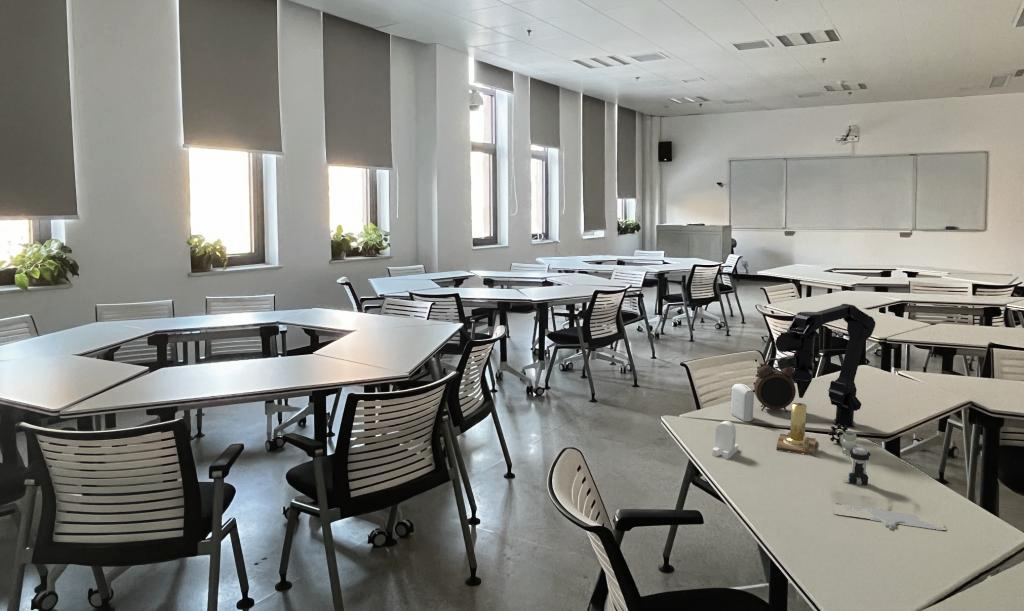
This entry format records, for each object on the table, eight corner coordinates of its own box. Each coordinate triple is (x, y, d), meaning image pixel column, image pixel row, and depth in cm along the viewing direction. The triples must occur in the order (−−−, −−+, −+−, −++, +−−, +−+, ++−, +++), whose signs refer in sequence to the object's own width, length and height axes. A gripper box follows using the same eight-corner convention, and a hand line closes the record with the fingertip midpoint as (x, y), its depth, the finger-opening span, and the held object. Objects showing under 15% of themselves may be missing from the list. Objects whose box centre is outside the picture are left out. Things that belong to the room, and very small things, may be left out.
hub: (812, 445, 226) (814, 408, 224) (789, 445, 226) (792, 408, 224) (800, 436, 235) (803, 399, 233) (779, 436, 235) (781, 399, 233)
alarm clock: (755, 412, 265) (758, 360, 262) (752, 406, 272) (755, 355, 269) (796, 414, 262) (799, 361, 259) (792, 408, 269) (795, 357, 266)
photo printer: (728, 413, 263) (730, 381, 261) (739, 413, 264) (741, 380, 262) (743, 422, 253) (745, 388, 251) (754, 421, 254) (756, 388, 252)
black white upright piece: (844, 485, 198) (847, 451, 197) (840, 478, 204) (842, 444, 202) (870, 487, 197) (873, 453, 195) (865, 480, 202) (868, 446, 200)
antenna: (834, 523, 176) (835, 518, 176) (829, 489, 198) (829, 485, 198) (950, 540, 168) (950, 535, 167) (931, 502, 189) (931, 498, 189)
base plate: (780, 436, 238) (780, 422, 238) (815, 441, 234) (816, 426, 233) (776, 450, 226) (777, 435, 225) (813, 455, 221) (814, 440, 220)
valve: (861, 456, 220) (848, 443, 232) (863, 436, 219) (849, 424, 231) (839, 456, 221) (827, 442, 233) (841, 435, 220) (828, 423, 232)
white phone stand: (711, 455, 221) (712, 424, 220) (722, 446, 229) (723, 416, 228) (728, 459, 218) (729, 427, 217) (738, 449, 226) (739, 419, 225)
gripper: (781, 342, 251) (778, 385, 254) (776, 353, 235) (774, 398, 237) (815, 345, 247) (812, 388, 249) (813, 356, 230) (810, 402, 232)
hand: (801, 394), depth 242 cm, fingers open, 9 cm apart
